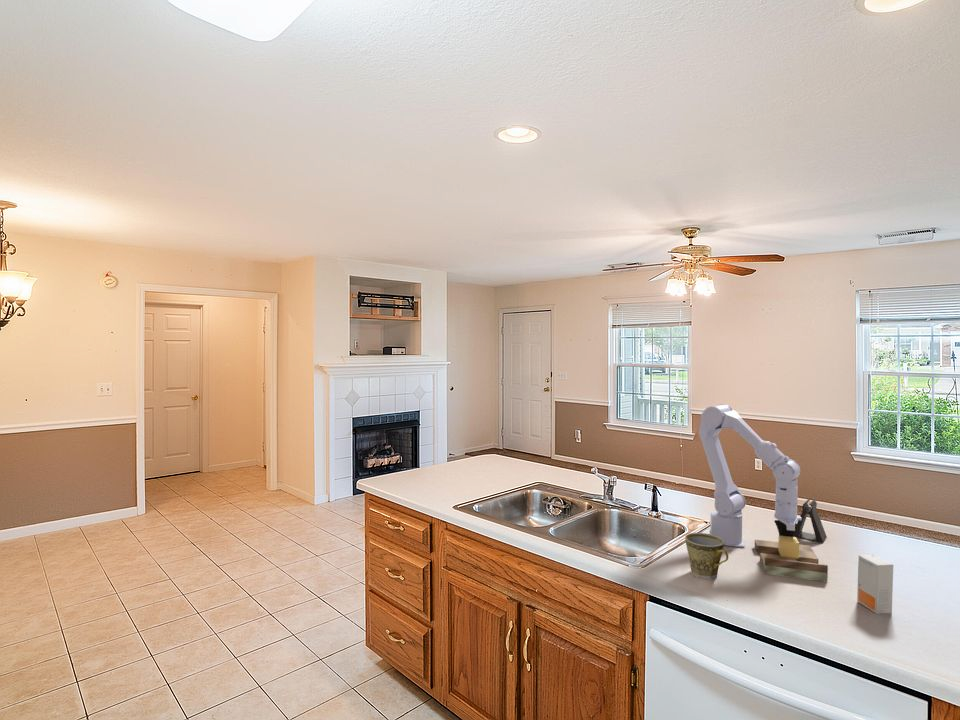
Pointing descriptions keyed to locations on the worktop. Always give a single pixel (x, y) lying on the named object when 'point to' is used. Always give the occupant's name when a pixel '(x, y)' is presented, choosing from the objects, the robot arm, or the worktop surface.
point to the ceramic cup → (705, 554)
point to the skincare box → (875, 583)
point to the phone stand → (816, 523)
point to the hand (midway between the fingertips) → (785, 546)
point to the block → (788, 546)
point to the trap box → (791, 562)
